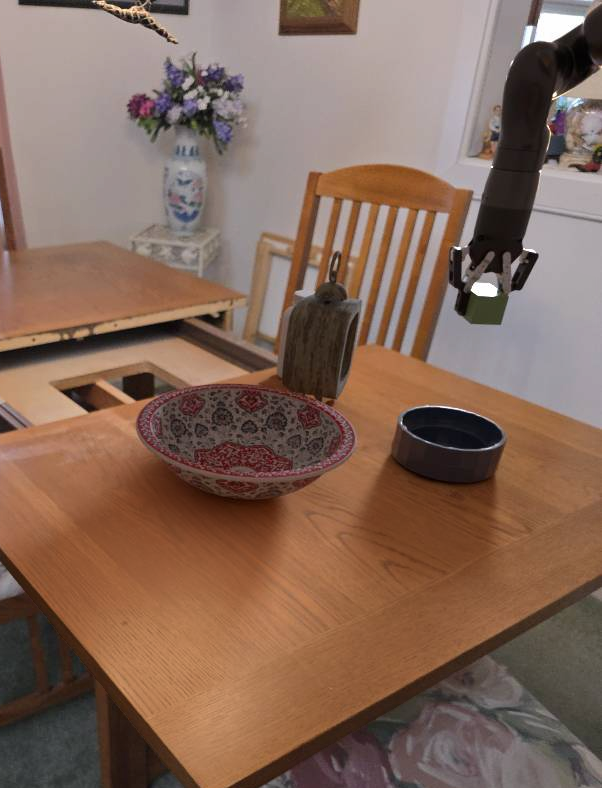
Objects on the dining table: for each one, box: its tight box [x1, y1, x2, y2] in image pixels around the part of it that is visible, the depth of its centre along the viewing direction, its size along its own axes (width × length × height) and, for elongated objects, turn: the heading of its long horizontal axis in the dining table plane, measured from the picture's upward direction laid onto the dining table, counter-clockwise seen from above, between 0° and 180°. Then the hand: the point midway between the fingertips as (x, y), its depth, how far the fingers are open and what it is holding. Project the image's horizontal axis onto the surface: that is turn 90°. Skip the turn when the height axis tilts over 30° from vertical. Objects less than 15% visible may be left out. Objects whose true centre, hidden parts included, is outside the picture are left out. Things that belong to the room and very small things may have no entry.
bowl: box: [390, 405, 508, 483], centre depth 104 cm, size 15×15×6 cm
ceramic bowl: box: [135, 383, 357, 500], centre depth 95 cm, size 29×29×8 cm
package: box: [453, 282, 510, 326], centre depth 115 cm, size 5×8×4 cm, turn 2°
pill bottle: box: [276, 289, 316, 379], centre depth 127 cm, size 8×8×15 cm
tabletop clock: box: [281, 250, 363, 403], centre depth 112 cm, size 14×9×25 cm, turn 160°
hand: (477, 314), depth 116 cm, fingers closed on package, 5 cm apart
